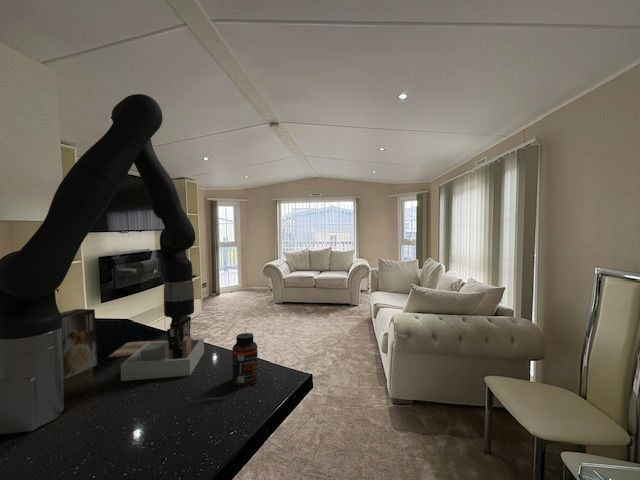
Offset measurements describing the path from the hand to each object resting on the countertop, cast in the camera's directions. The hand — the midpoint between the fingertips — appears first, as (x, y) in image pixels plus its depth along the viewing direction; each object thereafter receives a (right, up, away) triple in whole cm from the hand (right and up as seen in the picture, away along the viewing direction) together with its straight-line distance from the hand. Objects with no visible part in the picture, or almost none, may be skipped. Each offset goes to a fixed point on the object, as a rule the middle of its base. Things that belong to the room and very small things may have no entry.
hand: (180, 358), depth 84 cm
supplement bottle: (+20, -2, -10) cm, 23 cm away
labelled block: (0, -1, 0) cm, 1 cm away
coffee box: (-27, -3, -3) cm, 28 cm away
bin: (-3, -2, -1) cm, 4 cm away
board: (-19, -2, +12) cm, 22 cm away
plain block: (-7, -2, -1) cm, 7 cm away
